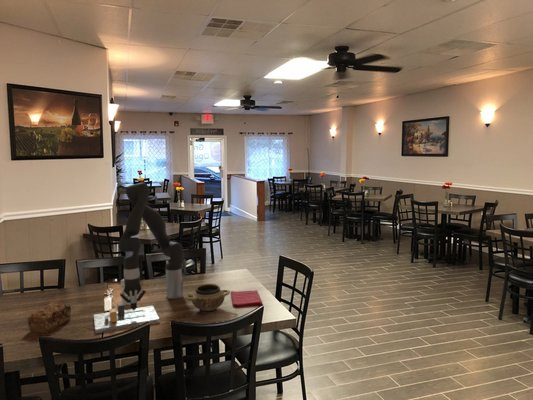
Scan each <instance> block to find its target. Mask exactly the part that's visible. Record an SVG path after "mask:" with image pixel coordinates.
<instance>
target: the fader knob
mask: <svg viewBox="0 0 533 400" xmlns="http://www.w3.org/2000/svg"><path fill="white" fill-rule="evenodd" d="M108 310H109V312H110V323H111V322H117V312H116V311H117V309H116V308H110V309H108Z"/></svg>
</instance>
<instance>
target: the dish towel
mask: <svg viewBox="0 0 533 400" xmlns="http://www.w3.org/2000/svg"><path fill="white" fill-rule="evenodd" d="M230 301H231V305H232V307H233V308H243V307H244V308H246V307H248V308H249V307H263V305H264V304H263V302H262V299H261V296H260V294H259V292H258V290H244V291H243V290H242V291H234V290H230Z"/></svg>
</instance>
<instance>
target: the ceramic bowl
mask: <svg viewBox="0 0 533 400" xmlns="http://www.w3.org/2000/svg"><path fill="white" fill-rule="evenodd" d="M229 294H231V290H228V289H221V288H220V286H219V285H217V284H214V283H205V284H204V283H203V284H200V285H197V286H196V287H195V290H194V291H193V292H192V293H189V294H186V295H185V297H184V299H185V300H186V301H191V302H192V305H194V306H195V308H196V309H198V311H199V312H200V313H201V314H213V313H215V312H217V310H218V308H219V307H221V306H222V304H224V301H225V297H226V296H229Z"/></svg>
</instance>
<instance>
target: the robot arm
mask: <svg viewBox="0 0 533 400" xmlns="http://www.w3.org/2000/svg"><path fill="white" fill-rule="evenodd" d="M150 192H151V190H150V188H149V185H148V183H146V182H139V183H135V184H131V185H128V186H126V189H125V194H126V196H127V197H126V198H128V200H129V202H130V203H131V204H132V206H133V208H132V210H131V211H130V212H129V215H128V217H127V219H126V223H125V229H124V232H123V233H122V235H121V237H120V238H119V242H118V249H119V251H121V252H124V253H126V252H129V253H130V252H132V254H130V255H126V256H125V257H123V279H124V284H125V288H124V291H123V292H122V293H121V292H120V293H119V296H120V297H121V299H122V298H123V299H124V300H125V301H126V302H127V303H131V305H130V309H132V310H136V308H138V305H137V304H138V303H137V302H140V301H141V299H142V298H143V297H144V296H145V294H146V292H147V290H146V289H145V288H142V286H141V277H140V276H141V274H140V273H141V272H140V268H139V267H140V266H139V265H140V264H139V263H140V262H139V256H140V251H141V247H142V241H141V239H140V238H139V237H136V236H138V235H139V234H140V231H141V225H142V219H143V221H144V222H145V225H146V226H147V228H148V229H149V231H150V232H151V233H152V235H153V237H154V238H155V240H156V242H157V243H158V246H159V248H160V249H161V252H162V254H163V255H164V256H166V257H168V258H169V262H168V263H166V264H165V288H166V298H167V299H169V300H175V299H179V298H184V281H183V279H182V278H183V277H182V276H183V275H182V273H183V272H182V269H183V267H182V265H183V263H184V261H183V260H184V259H183V258H184V249H183V245H182V244H181V243H180V242H177V241H172V239H171V238H170V237H169V235H168V234H167V227H166V226H167V225H166V223H165V219H164V218H163V217H162V215H161V214H160V213H159V212H158V211H157V210H156V209H154V208H152V206H151V207H150V206H149V205H147V203H148V200H149V198H150ZM125 293H126V294H127V295H128V296H129V297H130V299H128V298H127V297H126V296H125ZM133 296H134V302H133Z"/></svg>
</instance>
